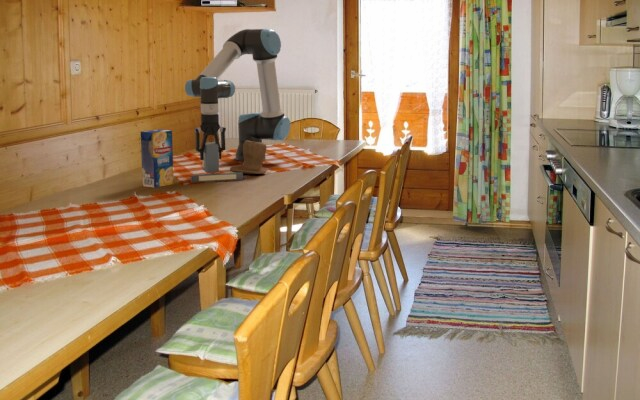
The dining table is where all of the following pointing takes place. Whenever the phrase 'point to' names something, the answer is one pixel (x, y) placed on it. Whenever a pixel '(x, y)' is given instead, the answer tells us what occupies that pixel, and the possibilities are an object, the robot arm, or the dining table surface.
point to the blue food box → (157, 158)
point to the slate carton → (211, 157)
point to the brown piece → (251, 158)
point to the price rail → (216, 177)
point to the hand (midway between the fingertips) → (210, 166)
